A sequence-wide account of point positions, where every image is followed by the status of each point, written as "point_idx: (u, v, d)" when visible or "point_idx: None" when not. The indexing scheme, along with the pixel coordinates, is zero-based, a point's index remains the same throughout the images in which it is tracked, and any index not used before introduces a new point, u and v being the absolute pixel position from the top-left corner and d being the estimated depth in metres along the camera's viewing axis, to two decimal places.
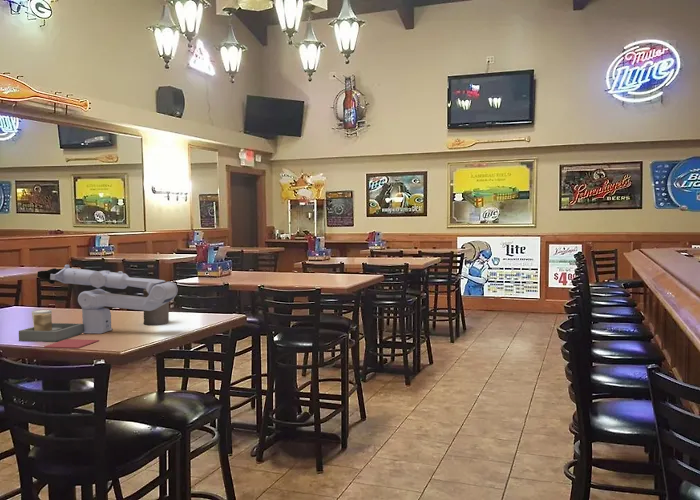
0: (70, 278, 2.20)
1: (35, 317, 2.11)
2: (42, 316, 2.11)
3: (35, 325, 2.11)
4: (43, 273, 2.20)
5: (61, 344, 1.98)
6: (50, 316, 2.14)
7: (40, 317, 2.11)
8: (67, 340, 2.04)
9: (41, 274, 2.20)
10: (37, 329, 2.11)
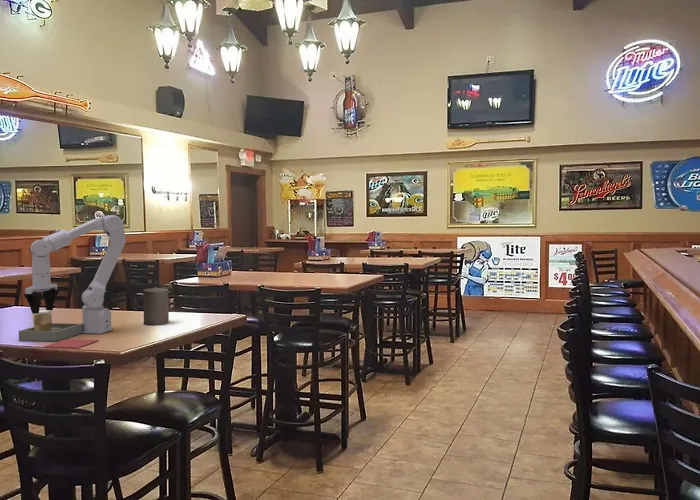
0: (38, 278, 2.10)
1: (35, 317, 2.11)
2: (42, 316, 2.11)
3: (35, 325, 2.11)
4: (32, 306, 2.09)
5: (61, 344, 1.98)
6: (50, 316, 2.14)
7: (40, 317, 2.11)
8: (67, 340, 2.04)
9: (34, 308, 2.09)
10: (37, 329, 2.11)
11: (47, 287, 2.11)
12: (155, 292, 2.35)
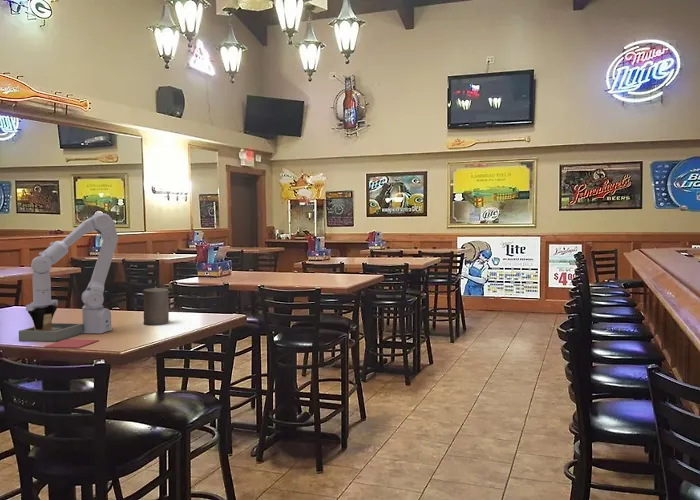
0: (38, 294, 2.10)
1: None
2: None
3: None
4: (36, 322, 2.10)
5: (61, 344, 1.98)
6: (50, 316, 2.14)
7: None
8: (67, 340, 2.04)
9: (37, 324, 2.10)
10: (37, 329, 2.11)
11: (48, 303, 2.12)
12: (155, 292, 2.35)
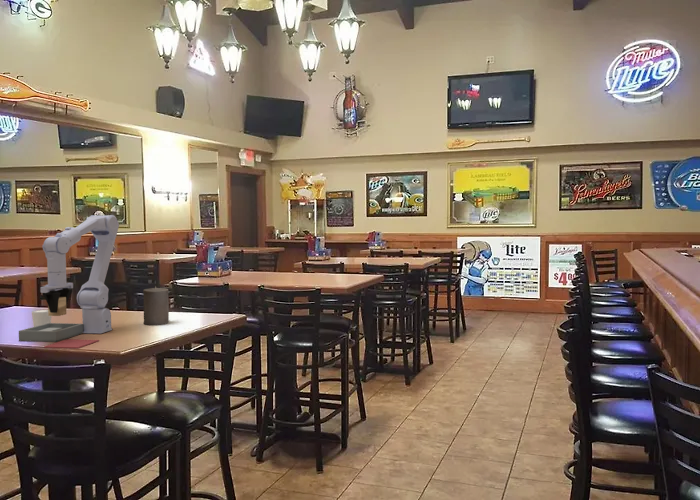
0: (53, 276, 2.02)
1: None
2: None
3: None
4: (51, 305, 2.02)
5: (61, 344, 1.98)
6: (64, 299, 2.06)
7: None
8: (67, 340, 2.04)
9: (52, 307, 2.02)
10: (51, 313, 2.03)
11: (63, 286, 2.03)
12: (155, 292, 2.35)
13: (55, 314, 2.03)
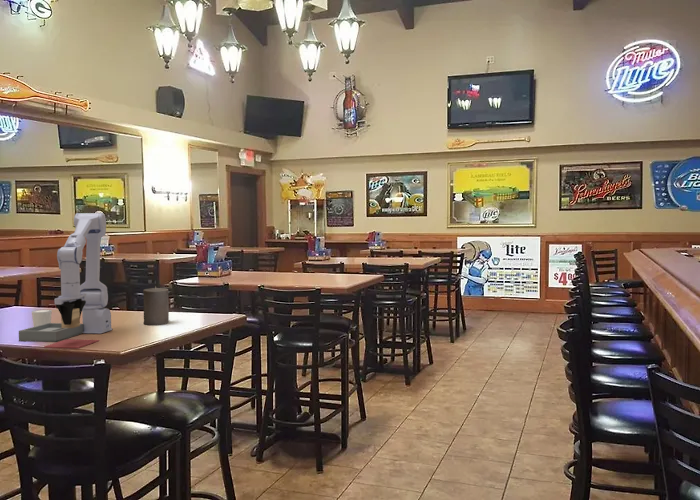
0: (67, 287, 1.96)
1: None
2: None
3: (62, 320, 1.98)
4: (64, 317, 1.97)
5: (61, 344, 1.98)
6: (78, 311, 2.00)
7: None
8: (67, 340, 2.04)
9: (66, 319, 1.97)
10: (64, 325, 1.98)
11: (77, 297, 1.98)
12: (155, 292, 2.35)
13: (69, 326, 1.97)
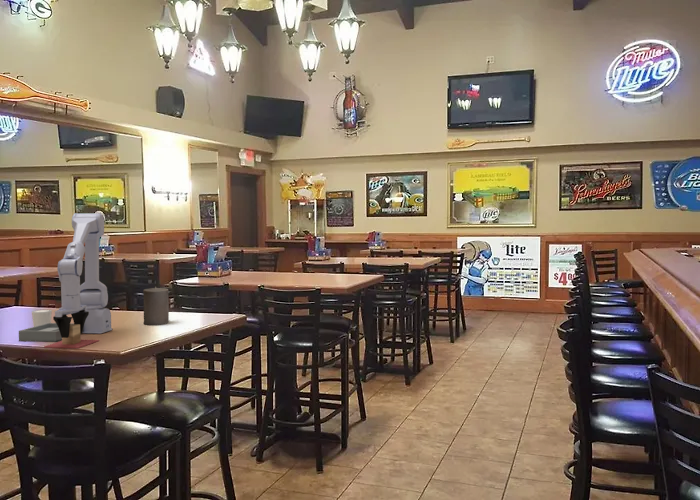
0: (67, 300, 1.96)
1: None
2: (70, 327, 1.97)
3: None
4: (62, 330, 1.95)
5: (61, 344, 1.98)
6: (79, 327, 2.01)
7: None
8: None
9: (63, 332, 1.95)
10: (65, 341, 1.98)
11: (77, 309, 1.98)
12: (155, 292, 2.35)
13: (69, 342, 1.98)
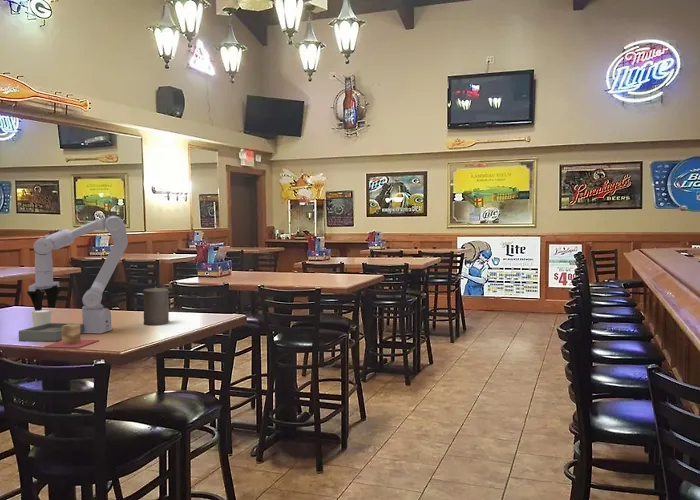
0: (40, 275, 2.13)
1: (63, 328, 1.98)
2: (70, 327, 1.97)
3: (63, 337, 1.98)
4: (35, 303, 2.12)
5: (61, 344, 1.98)
6: (79, 327, 2.01)
7: (68, 328, 1.98)
8: None
9: (36, 305, 2.12)
10: (65, 341, 1.98)
11: (50, 284, 2.15)
12: (155, 292, 2.35)
13: (69, 342, 1.98)
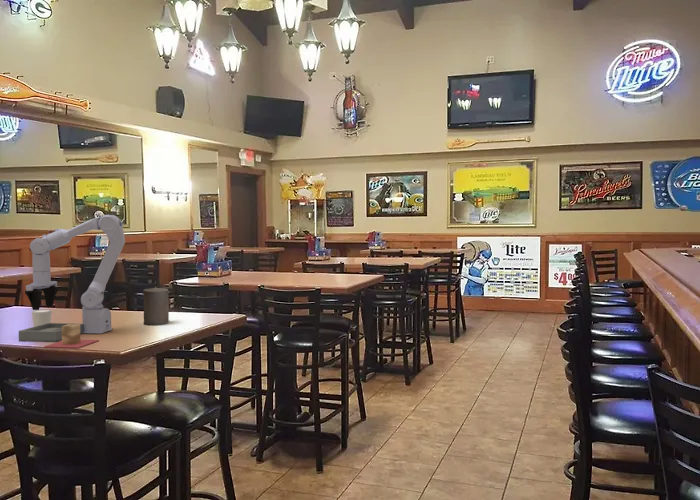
0: (38, 275, 2.15)
1: (63, 328, 1.98)
2: (70, 327, 1.97)
3: (63, 337, 1.98)
4: (33, 303, 2.14)
5: (61, 344, 1.98)
6: (79, 327, 2.01)
7: (68, 328, 1.98)
8: None
9: (34, 305, 2.14)
10: (65, 341, 1.98)
11: (47, 284, 2.17)
12: (155, 292, 2.35)
13: (69, 342, 1.98)
